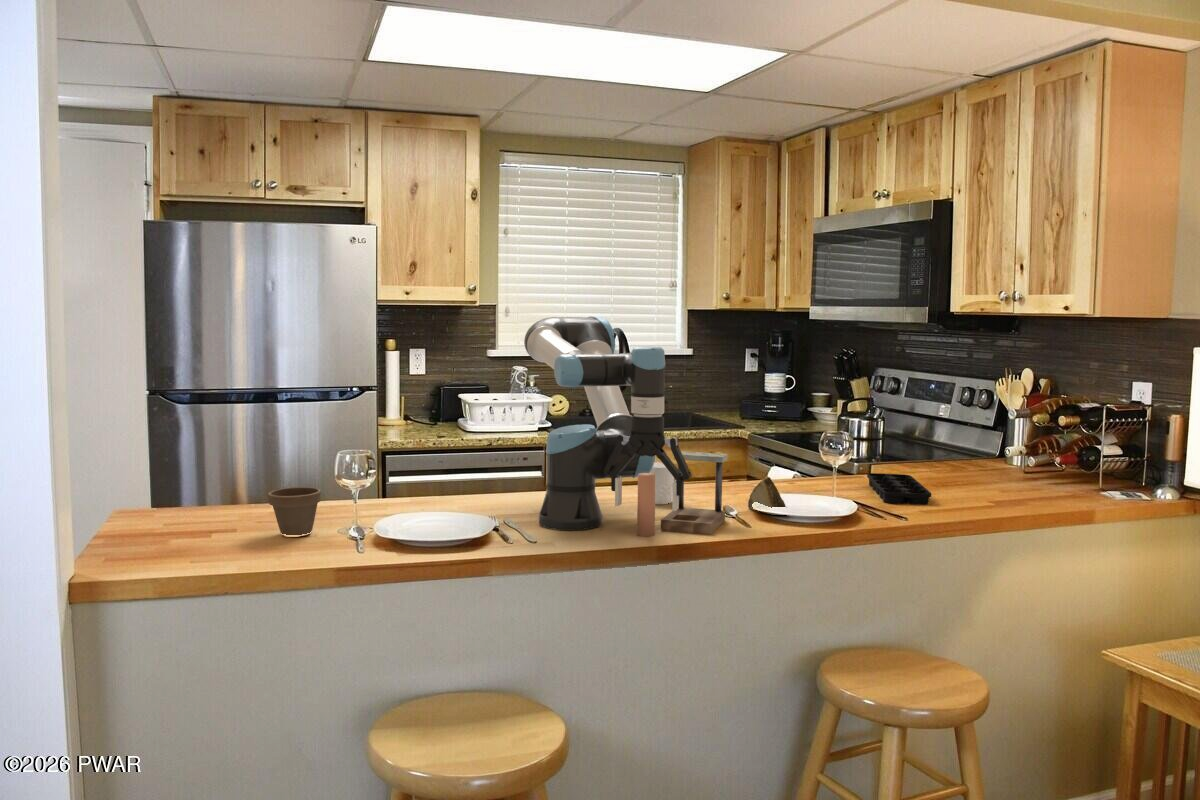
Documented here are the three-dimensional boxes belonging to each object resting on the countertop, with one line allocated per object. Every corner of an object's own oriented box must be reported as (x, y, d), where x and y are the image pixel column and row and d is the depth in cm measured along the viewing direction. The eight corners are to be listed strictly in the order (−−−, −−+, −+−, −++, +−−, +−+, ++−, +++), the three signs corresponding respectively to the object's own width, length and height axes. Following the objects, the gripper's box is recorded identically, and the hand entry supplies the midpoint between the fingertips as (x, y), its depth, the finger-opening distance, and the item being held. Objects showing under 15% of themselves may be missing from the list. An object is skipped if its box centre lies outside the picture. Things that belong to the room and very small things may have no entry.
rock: (736, 499, 258) (747, 502, 248) (755, 473, 258) (767, 474, 249) (768, 524, 259) (781, 528, 249) (787, 497, 259) (800, 500, 250)
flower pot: (258, 535, 225) (257, 491, 224) (302, 526, 234) (301, 484, 233) (287, 543, 218) (286, 498, 217) (332, 534, 226) (331, 490, 225)
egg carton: (905, 484, 294) (905, 472, 294) (952, 506, 265) (952, 492, 264) (847, 485, 292) (848, 473, 292) (888, 507, 263) (889, 493, 262)
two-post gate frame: (673, 510, 243) (674, 454, 242) (678, 506, 248) (679, 451, 247) (721, 514, 239) (722, 457, 238) (725, 509, 244) (727, 454, 243)
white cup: (674, 499, 268) (675, 462, 267) (673, 505, 261) (674, 467, 260) (645, 498, 269) (645, 462, 268) (643, 504, 261) (644, 467, 260)
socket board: (660, 530, 233) (660, 519, 233) (677, 516, 247) (677, 506, 247) (711, 534, 229) (711, 523, 229) (724, 520, 243) (725, 510, 243)
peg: (634, 535, 228) (635, 475, 226) (640, 531, 231) (640, 472, 230) (651, 537, 226) (652, 476, 225) (656, 533, 230) (657, 473, 229)
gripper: (590, 414, 226) (589, 506, 228) (697, 419, 218) (696, 514, 220) (601, 411, 233) (600, 500, 235) (705, 415, 225) (703, 508, 227)
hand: (646, 507), depth 228 cm, fingers open, 13 cm apart
